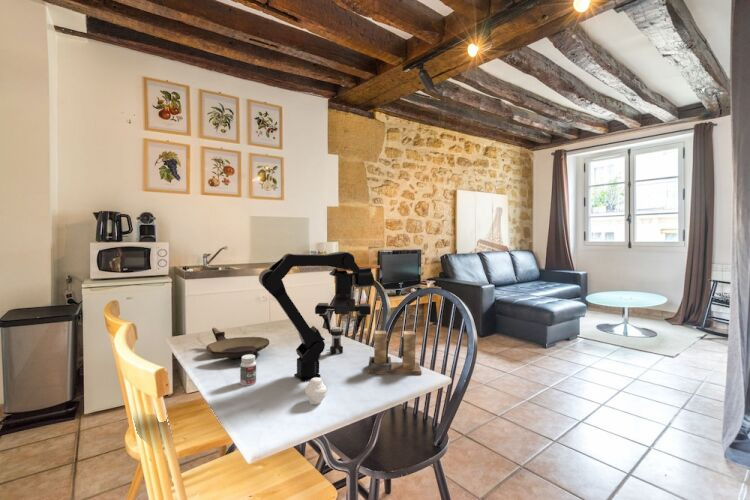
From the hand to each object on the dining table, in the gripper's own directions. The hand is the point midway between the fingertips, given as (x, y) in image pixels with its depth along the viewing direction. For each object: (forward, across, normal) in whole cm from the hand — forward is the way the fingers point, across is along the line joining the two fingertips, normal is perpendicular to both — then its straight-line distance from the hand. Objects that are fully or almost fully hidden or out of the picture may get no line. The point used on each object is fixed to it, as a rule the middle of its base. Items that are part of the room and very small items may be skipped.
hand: (343, 333), depth 122 cm
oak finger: (+12, +13, +2) cm, 18 cm away
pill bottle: (+13, -29, -11) cm, 33 cm away
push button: (+13, -5, +18) cm, 23 cm away
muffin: (+13, -6, -23) cm, 27 cm away
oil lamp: (+13, -42, +16) cm, 47 cm away
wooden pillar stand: (+13, +18, +2) cm, 22 cm away
